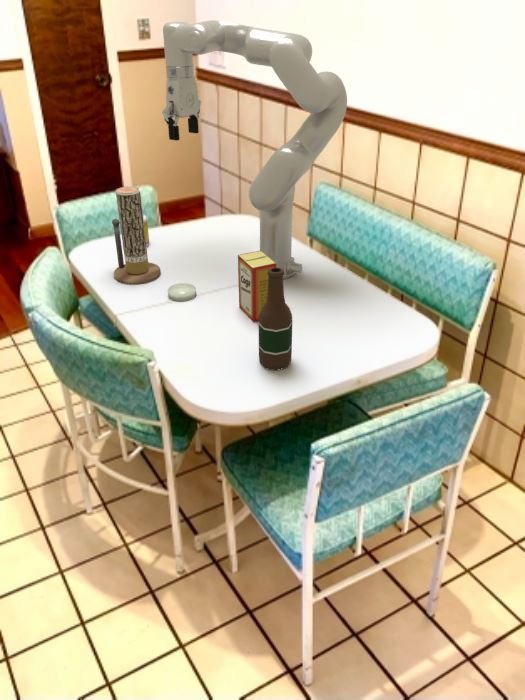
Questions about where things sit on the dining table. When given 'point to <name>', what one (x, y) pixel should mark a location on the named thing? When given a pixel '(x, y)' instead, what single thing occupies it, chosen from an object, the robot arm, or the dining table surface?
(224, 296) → the dining table surface
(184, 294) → the sage dish
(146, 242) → the supplement bottle
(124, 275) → the holder base
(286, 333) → the beer bottle
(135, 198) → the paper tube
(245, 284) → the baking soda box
